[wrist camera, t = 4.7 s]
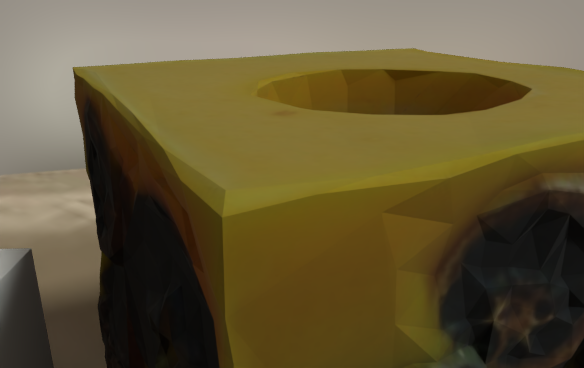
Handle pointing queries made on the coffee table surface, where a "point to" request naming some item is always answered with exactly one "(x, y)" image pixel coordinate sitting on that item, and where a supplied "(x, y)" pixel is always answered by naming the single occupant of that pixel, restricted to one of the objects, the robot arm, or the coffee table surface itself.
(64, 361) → the coffee table surface
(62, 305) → the coffee table surface
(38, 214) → the coffee table surface
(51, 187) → the coffee table surface
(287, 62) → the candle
